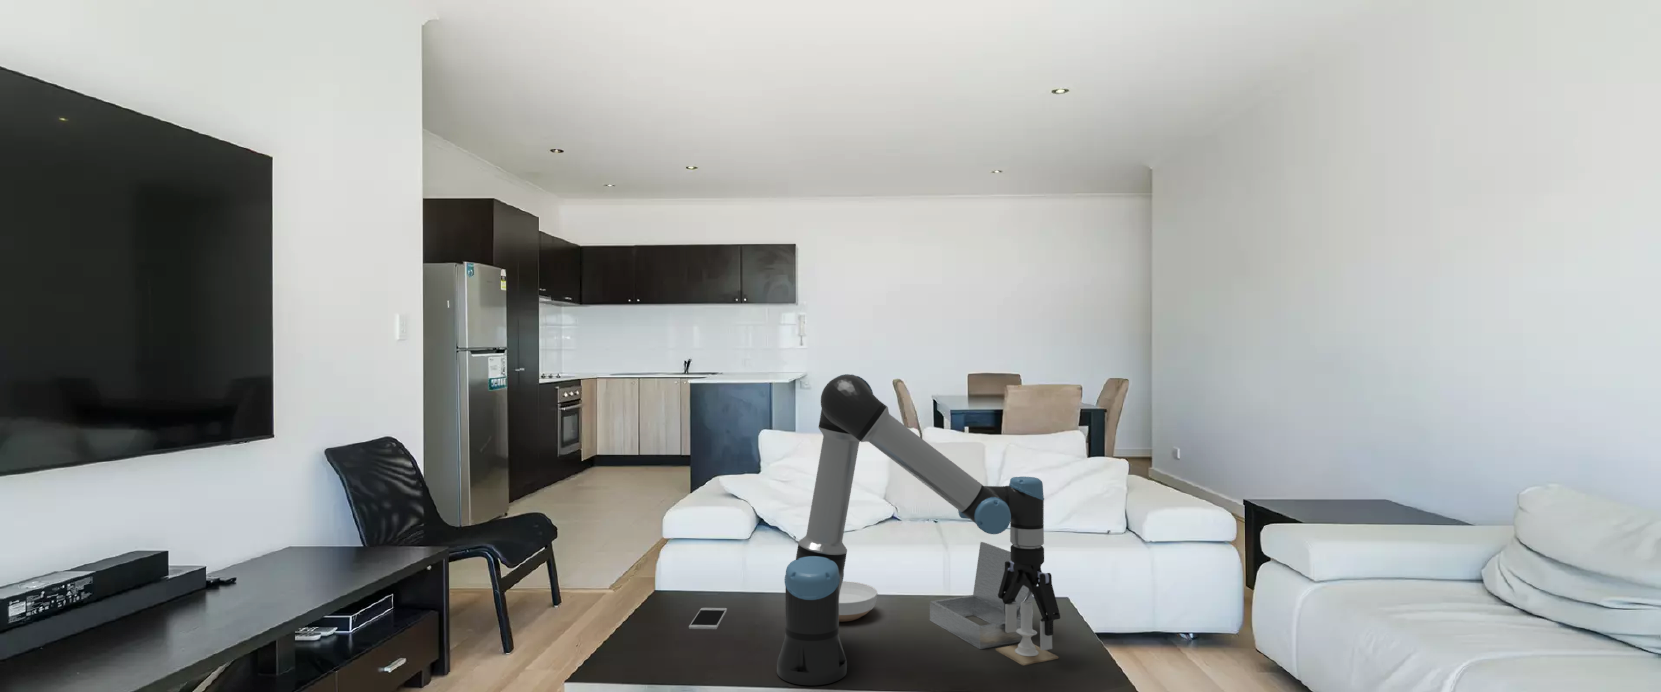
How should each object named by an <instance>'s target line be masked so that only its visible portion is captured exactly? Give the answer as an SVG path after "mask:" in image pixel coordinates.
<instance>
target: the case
mask: <svg viewBox="0 0 1661 692" xmlns="http://www.w3.org/2000/svg"><path fill="white" fill-rule="evenodd" d="M1006 561H1011V550H1010V551H1009V550H1006V549H1004V548H1001V547H998V546H996V545H993V544H991V543H990V544H989V543H988V542H984V541H980V542H979V551H978V558H977V566H976V571H975V578H974V586H973V592H972V593H973V594H970V595H963V596H957V597H951V598H944V599H936V600H930V601H929V621H930V622H932V623H933V624H935V625H936V626H938V627H940V628H942V629H944V630H945V631H947V632H949V633H951V634H953V635H954V636H956V637H957V638H960V640H962V641H965V642H966V643H967V644H970V645H972V647H973V646H974V647H975V648H977V649H978V650H983V649H988V648H989V649H990V648H994V647H1000V646H1005V645H1011V644H1012V645H1013V644H1017V643H1020V642H1021V640H1022V638H1023V636H1021V635H1020V634H1018V633H1017V632H1011V633H1006V632H1005V614H1004V612H1005V611H1004V610H1005V609H1004V603H1003V600H1002V599H999V597H998V593H999V589H1000V586H1001V582H1002V578H1003V575H1004V571H1005V562H1006ZM1004 593H1005V592H1004ZM1033 598H1034V596H1033V594H1032V592H1030V591H1029V588H1027V587H1025V586H1024V585H1023V586H1022V588H1021V589H1020V591H1019V593H1018V595H1017V597H1016V598H1015V601H1016V602H1012V603H1016V612H1017V629H1020V628H1021V613H1020V607H1021V602H1023V601H1026V600H1027V601H1029V602H1031V603H1032V604H1033ZM971 616H975V617H977V618H978V619H981V620H983V621H985V622H986V623H988V624H984V625H980V624H978V623H976V622H974V621H972V620H970V619H969V618H967V617H971Z"/></svg>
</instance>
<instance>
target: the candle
mask: <svg viewBox="0 0 1661 692" xmlns="http://www.w3.org/2000/svg"><path fill="white" fill-rule="evenodd" d="M1033 607H1034V606H1033V602H1032V603H1031V602H1029V601H1027V600H1026V601H1023V602H1021V607H1020V613H1021V628H1020V629H1017V630H1016V632H1017V633H1018V634H1020V635H1021V636H1023V638H1022V640H1021V642H1018V648H1016V649H1015V653H1017V654H1018V655H1021V656H1027V657H1032V656H1036V655H1038V654H1039V652H1038V651H1037V650H1036V648H1035V645H1036V644H1034V643H1033V640H1032V637H1034V636H1036V635H1038V631H1037V630H1035V629H1033V617H1034V613H1033V612H1034V611H1033ZM1033 644H1034V645H1033Z"/></svg>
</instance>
